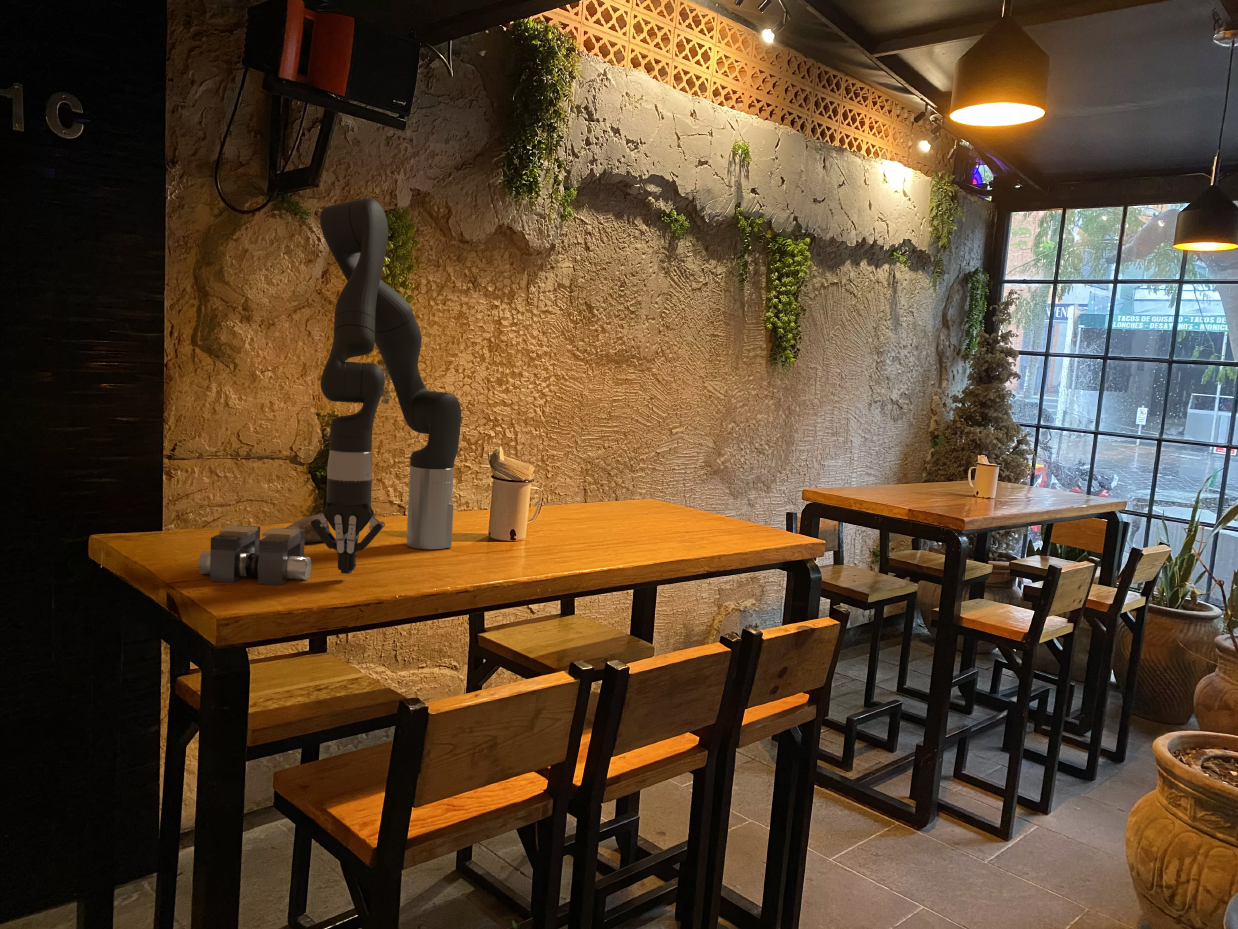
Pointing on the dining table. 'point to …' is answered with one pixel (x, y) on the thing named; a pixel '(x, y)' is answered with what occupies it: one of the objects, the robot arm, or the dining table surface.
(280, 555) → the grey u-shaped stands
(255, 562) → the tube
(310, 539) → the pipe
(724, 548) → the dining table surface
